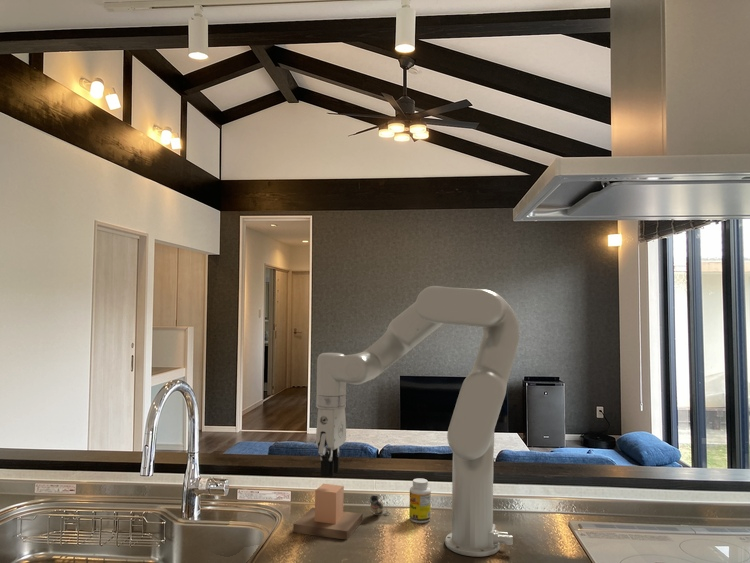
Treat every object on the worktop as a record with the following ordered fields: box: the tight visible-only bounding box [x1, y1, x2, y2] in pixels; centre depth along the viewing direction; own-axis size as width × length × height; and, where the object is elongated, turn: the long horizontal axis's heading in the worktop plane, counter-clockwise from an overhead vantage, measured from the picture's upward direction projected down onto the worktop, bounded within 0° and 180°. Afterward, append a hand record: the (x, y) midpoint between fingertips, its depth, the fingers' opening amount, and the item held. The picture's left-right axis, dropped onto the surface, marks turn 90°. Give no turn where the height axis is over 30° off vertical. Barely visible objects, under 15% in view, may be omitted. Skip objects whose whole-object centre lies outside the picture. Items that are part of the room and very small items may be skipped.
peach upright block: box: [314, 483, 345, 524], centre depth 140 cm, size 6×6×8 cm
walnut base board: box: [292, 507, 363, 540], centre depth 140 cm, size 14×12×2 cm
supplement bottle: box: [408, 478, 432, 524], centre depth 145 cm, size 6×6×10 cm
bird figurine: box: [369, 495, 391, 516], centre depth 147 cm, size 5×5×6 cm
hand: (329, 473), depth 140 cm, fingers open, 3 cm apart
